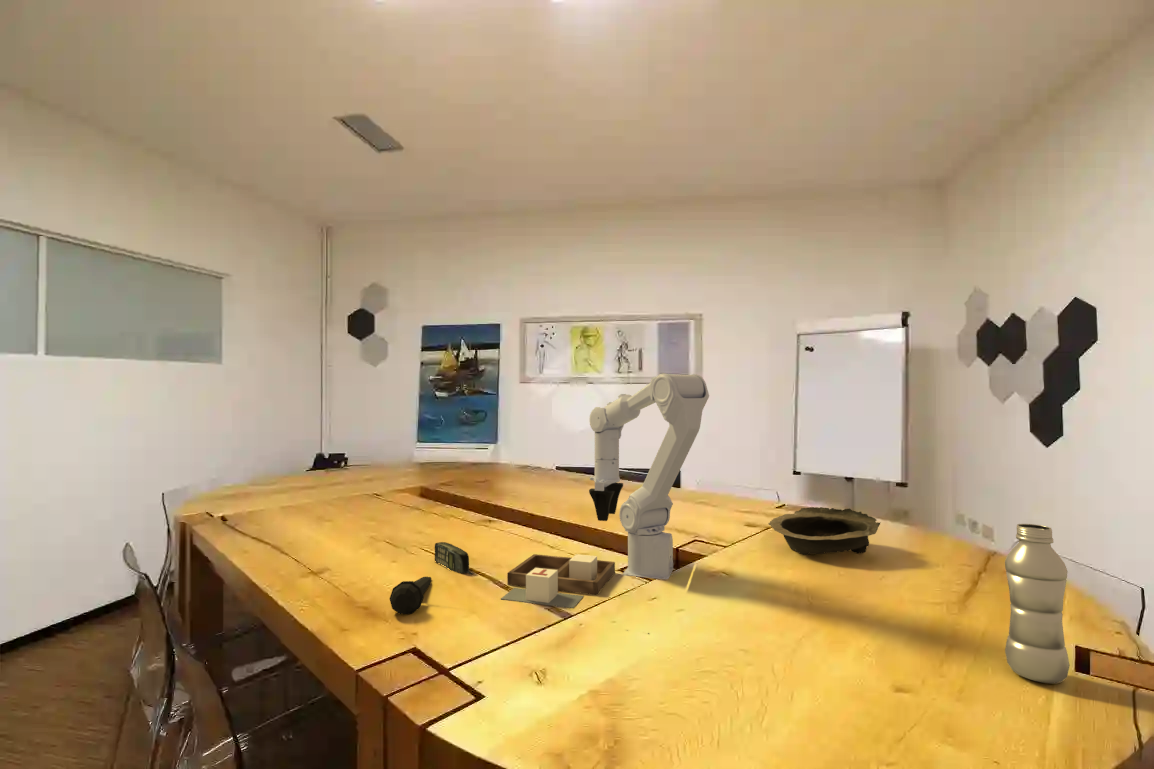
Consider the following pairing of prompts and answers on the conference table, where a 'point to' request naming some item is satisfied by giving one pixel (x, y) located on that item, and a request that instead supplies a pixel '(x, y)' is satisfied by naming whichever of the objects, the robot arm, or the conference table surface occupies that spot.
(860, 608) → the conference table surface
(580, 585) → the organizer
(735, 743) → the conference table surface
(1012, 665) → the plastic bottle
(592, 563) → the blank cube
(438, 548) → the mobile phone
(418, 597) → the microphone
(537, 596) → the letter cube
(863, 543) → the stone bowl
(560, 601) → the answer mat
